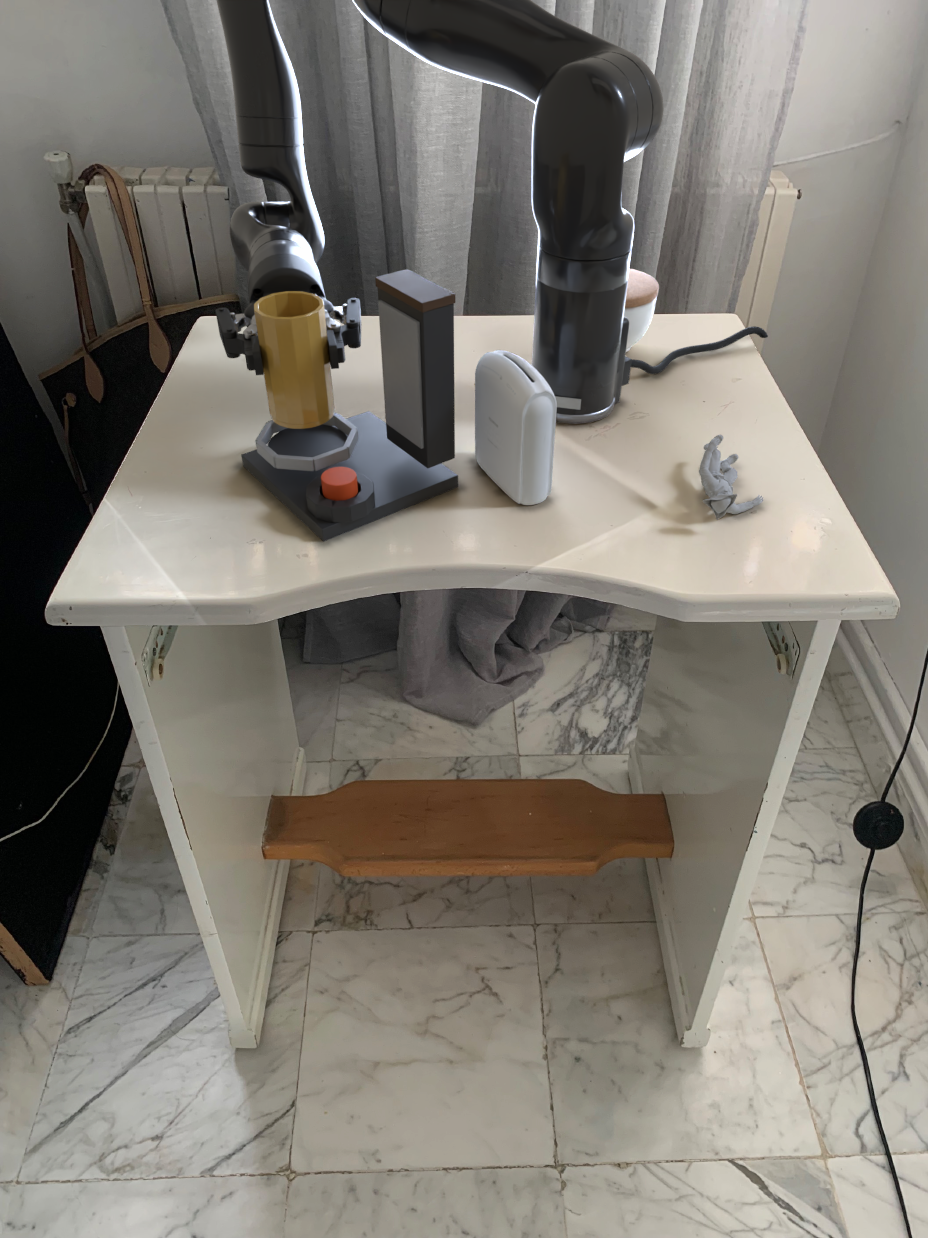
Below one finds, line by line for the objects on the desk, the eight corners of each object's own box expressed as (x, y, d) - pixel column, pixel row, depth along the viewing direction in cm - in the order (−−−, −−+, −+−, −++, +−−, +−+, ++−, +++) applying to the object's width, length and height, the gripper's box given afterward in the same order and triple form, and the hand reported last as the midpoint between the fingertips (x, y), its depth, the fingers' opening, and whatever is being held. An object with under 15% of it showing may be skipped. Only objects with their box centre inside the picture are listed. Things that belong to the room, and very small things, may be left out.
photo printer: (468, 460, 91) (468, 343, 83) (506, 450, 92) (510, 334, 84) (517, 511, 84) (522, 389, 76) (556, 500, 85) (566, 379, 77)
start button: (346, 478, 84) (344, 462, 82) (364, 494, 82) (363, 477, 80) (316, 490, 82) (314, 473, 81) (334, 506, 80) (332, 489, 79)
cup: (314, 391, 88) (302, 285, 81) (346, 416, 85) (336, 307, 78) (259, 409, 86) (241, 301, 79) (290, 435, 82) (274, 324, 75)
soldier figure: (756, 479, 90) (783, 512, 79) (716, 509, 92) (737, 546, 81) (709, 419, 88) (730, 445, 77) (669, 451, 90) (684, 481, 79)
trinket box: (657, 363, 108) (669, 285, 101) (567, 363, 108) (574, 285, 101) (642, 326, 116) (652, 251, 110) (559, 327, 116) (564, 252, 109)
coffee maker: (370, 397, 95) (359, 243, 84) (456, 458, 86) (455, 293, 75) (243, 440, 88) (214, 278, 78) (321, 510, 79) (300, 338, 69)
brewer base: (370, 422, 97) (368, 396, 95) (461, 489, 87) (461, 462, 85) (243, 466, 90) (238, 439, 88) (326, 545, 80) (323, 517, 78)
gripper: (206, 256, 88) (205, 327, 76) (353, 247, 90) (375, 314, 78) (219, 330, 93) (220, 408, 81) (358, 319, 95) (380, 393, 83)
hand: (296, 361), depth 79 cm, fingers closed on cup, 6 cm apart
